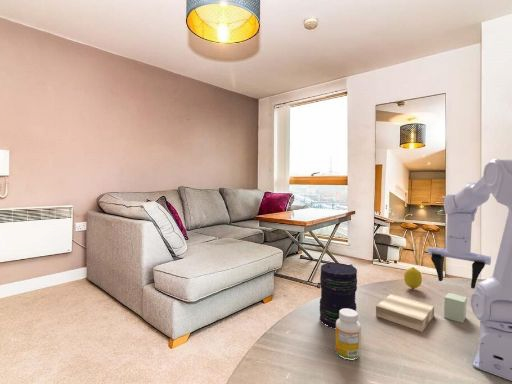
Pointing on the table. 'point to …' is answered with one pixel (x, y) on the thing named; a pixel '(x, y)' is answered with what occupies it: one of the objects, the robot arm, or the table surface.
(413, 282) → the lemon
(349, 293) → the storage jar
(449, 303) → the sage block
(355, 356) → the supplement bottle
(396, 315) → the birch plinth
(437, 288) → the table surface
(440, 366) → the table surface
